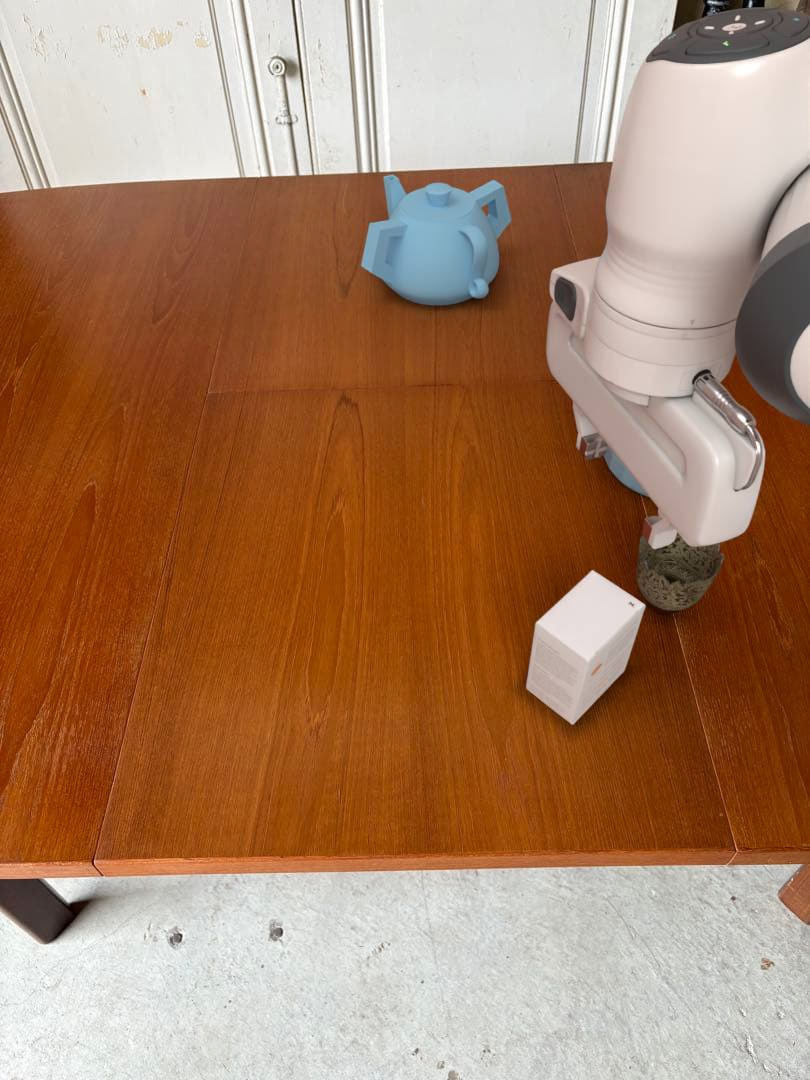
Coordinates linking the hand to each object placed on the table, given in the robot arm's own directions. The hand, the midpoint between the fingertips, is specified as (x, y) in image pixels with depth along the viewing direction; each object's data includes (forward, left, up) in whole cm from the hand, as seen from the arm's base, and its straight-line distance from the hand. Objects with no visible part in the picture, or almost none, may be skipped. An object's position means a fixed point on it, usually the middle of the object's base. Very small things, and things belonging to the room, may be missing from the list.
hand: (621, 494), depth 59 cm
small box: (-1, +1, -23) cm, 23 cm away
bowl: (+19, -25, -23) cm, 39 cm away
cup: (+2, -11, -23) cm, 26 cm away
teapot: (+67, -20, -23) cm, 73 cm away
